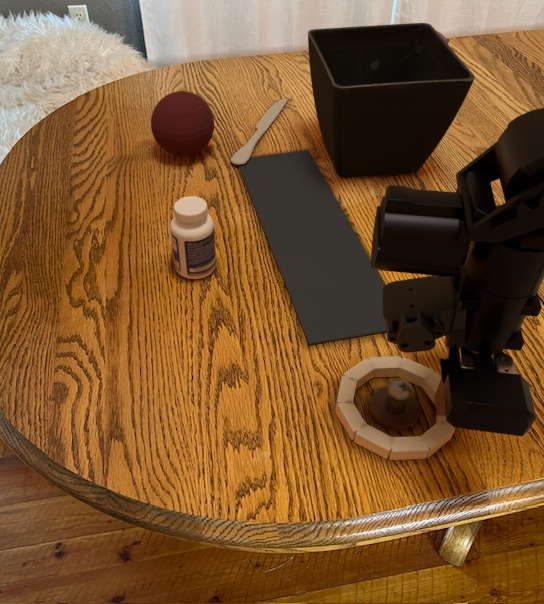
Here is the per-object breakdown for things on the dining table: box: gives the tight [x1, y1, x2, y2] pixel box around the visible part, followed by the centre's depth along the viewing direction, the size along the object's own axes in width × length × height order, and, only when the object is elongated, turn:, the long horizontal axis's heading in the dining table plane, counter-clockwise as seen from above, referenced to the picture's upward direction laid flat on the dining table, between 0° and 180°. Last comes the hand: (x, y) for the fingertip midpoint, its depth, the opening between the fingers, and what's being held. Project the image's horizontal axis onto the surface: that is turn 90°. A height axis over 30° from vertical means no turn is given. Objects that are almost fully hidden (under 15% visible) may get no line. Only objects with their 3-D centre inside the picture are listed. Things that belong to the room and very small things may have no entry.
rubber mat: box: [237, 149, 387, 346], centre depth 83 cm, size 40×12×1 cm, turn 11°
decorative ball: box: [150, 90, 215, 158], centre depth 95 cm, size 10×10×10 cm
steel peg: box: [368, 377, 421, 431], centre depth 60 cm, size 5×5×4 cm
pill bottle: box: [169, 195, 217, 280], centre depth 75 cm, size 5×5×10 cm
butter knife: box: [230, 98, 289, 166], centre depth 102 cm, size 1×24×3 cm
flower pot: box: [307, 22, 476, 179], centre depth 90 cm, size 19×19×17 cm
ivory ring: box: [334, 355, 456, 461], centre depth 60 cm, size 12×12×7 cm
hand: (453, 392), depth 58 cm, fingers closed on ivory ring, 2 cm apart
